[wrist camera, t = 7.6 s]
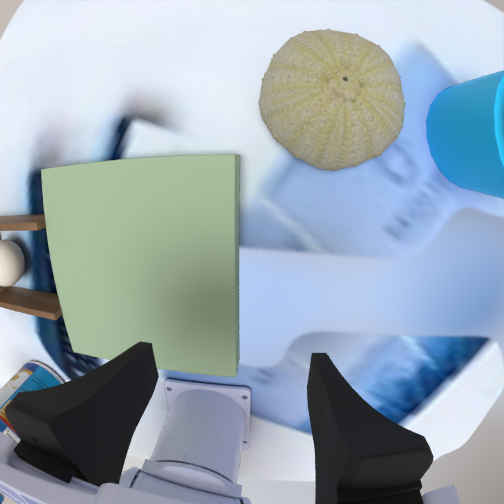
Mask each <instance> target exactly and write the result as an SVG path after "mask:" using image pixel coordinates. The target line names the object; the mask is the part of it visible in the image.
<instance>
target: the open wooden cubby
mask: <svg viewBox="0 0 504 504" xmlns="http://www.w3.org/2000/svg"><path fill="white" fill-rule="evenodd" d="M45 227H46V222H45V214H36V215H17V216H0V231H23V230H40V229H42V228H45ZM0 240H1V236H0ZM0 307H3V308H6V309H10V310H14V311H18V312H22V313H26V314H30V315H34V316H39V317H43V318H48V319H52V320H57V319H58V318H59V317H60V316H61V315H63V313H62V309H61V305H60V301H59V297H58V294H54V293H48V292H42V291H35V290H29V289H24V288H18V287H12V286H7V287H4V286H0Z"/></svg>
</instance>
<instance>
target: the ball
mask: <svg viewBox="0 0 504 504" xmlns="http://www.w3.org/2000/svg"><path fill="white" fill-rule="evenodd" d="M24 268H25V259H24V255H23V252H22V250H21V249H20V247H19V246H18V245H17V244H16V243H14V242H13V241H10V240H0V286H4V287H7V286H11V285H14V284H15V283H17V282H18V281H19V280H20V278H21V277H22V275H23V272H24Z"/></svg>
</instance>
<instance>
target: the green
mask: <svg viewBox="0 0 504 504" xmlns="http://www.w3.org/2000/svg"><path fill="white" fill-rule="evenodd" d="M41 171H42V190H43V203H44V213H45V222H46V231H47V238H48V245H49V251H50V257H51V263H52V268H53V274H54V279H55V283H56V288H57V293H58V297H59V301H60V305H61V309H62V313H63V317H64V321H65V325H66V328H67V332H68V335H69V339H70V342H71V345H72V348H73V351H74V352H77V353H81V354H85V355H90V356H94V357H99V358H103V359H108V360H112V359H113V358H115V357H116V356H118V355H120V354H121V353H123V352H124V351H126V350H127V349H129V348H130V347H132V346H133V345H135V344H136V343H138V342H140V341H141V342H149V343H152V347H153V352H154V357H155V362H156V367H157V368H159V369H165V370H172V371H180V372H188V373H196V374H205V375H216V376H227V377H236V375H237V369H238V364H239V175H240V155H188V156H165V157H149V158H135V159H123V160H112V161H102V162H93V163H85V164H77V165H69V166H62V167H55V168H49V169H42V170H41Z"/></svg>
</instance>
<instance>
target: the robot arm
mask: <svg viewBox="0 0 504 504" xmlns="http://www.w3.org/2000/svg"><path fill="white" fill-rule="evenodd" d="M158 377H159V376H158V371H157V367H156V362H155V357H154V352H153V347H152V343H149V342H141V341H140V342H138V343H136V344H135V345H133V346H132V347H130V348H129V349H127V350H126V351H124V352H123V353H121V354H120V355H118V356H116V357H115V358H113V359H112V360H110V361H109V362H107V363H105V364H104V365H102V366H100V367H98V368H97V369H95V370H93V371H91V372H89V373H87V374H85V375H83V376H81V377H79V378H77V379H74V380H71V381H69V382H66V383H63V384H60V385H57V386H53V387H49V388H45V389H40V390H34V391H26V392H18V393H17V395H16V396H15V397H14V398H13V399H12V400H11V401H10V402H9V404H8V405H7V406H6V407H5V414H6V417H7V419H8V421H9V423H10V424H11V426H12V427H13V429H14V430H15V432H16V433H17V435H18V436H19V438H20V439H21V440H20V442H19V443H18V444H17V443H16V442H15V441H14V440H13V439H12V438H10V437H8V436H7V435H5V434H3V433H2V432H0V492H1V493H3V494H4V495H5V496H7V497H8V498H10V499H11V500H13V501H14V502H16V503H17V504H252V503H251V501H250V499H249V498H247V497H241V490H242V486H241V485H238V484H237V479H238V472H239V465H240V458H241V450H242V449H249V447H250V407H251V391H250V389H249V388H247V387H236V386H224V385H213V384H204V383H195V382H187V381H179V380H172V379H166V380H165V381H164V389H165V393H166V398H167V402H168V407H169V413H168V416H167V418H166V421H165V423H164V426H163V428H162V431H161V433H160V436H159V438H158V441H157V443H156V446H155V448H154V451H153V453H152V456H151V459H150V460H148V459H146V460H145V462H144V464H143V467H142V469H139V468H136V467H132V468H130V469H128V470H126V471H124V472H123V473H122V469H123V465H124V462H125V458H126V455H127V451H128V448H129V445H130V442H131V439H132V436H133V434H134V431H135V429H136V427H137V425H138V423H139V421H140V419H141V417H142V415H143V413H144V411H145V409H146V407H147V405H148V403H149V401H150V399H151V397H152V395H153V392H154V389H155V387H156V383H157V380H158ZM169 387H170V388H169ZM245 396H247V397H245ZM307 398H308V410H309V416H310V423H311V429H312V435H313V441H314V448H315V469H316V499H315V500H316V501H315V504H461V503H460V500H459V498H458V495H457V492H456V489H455V487H454V485H450V486H447V487H444V488H441V489H437V490H434V491H431V492H428V493H426V494H424V495H423V496H421V493H420V489H421V488H422V484H421V480H420V479H421V478H422V476H423V475H424V474H425V473H426V471H427V470H428V469H429V467H430V465H431V464H432V462H433V454H432V452H431V449H430V447H429V445H428V443H427V441H426V439H425V437H424V436H422V435H419V434H417V433H415V432H412V431H410V430H408V429H406V428H404V427H402V426H400V425H398V424H396V423H394V422H393V421H391V420H390V419H388V418H386V417H385V416H384V415H382V414H381V413H379V412H378V411H377V410H375V409H374V408H373V407H371V406H370V405H369V404H368V403H367V402H366V401H365V400H364V399H362V398H361V397H360V396H359V395H358V393H357V392H356V391H355V390H354V389H353V388H352V387H351V386H350V385H349V383H348V382H347V381H346V380H345V379H344V377H343V376H342V375H341V373H340V372H339V371H338V369H337V368H336V367H335V365H334V364H333V362H332V361H331V359H330V358H329V356H328V355H327V354H326V353H312V356H311V363H310V371H309V378H308V384H307ZM121 473H122V474H121Z"/></svg>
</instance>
